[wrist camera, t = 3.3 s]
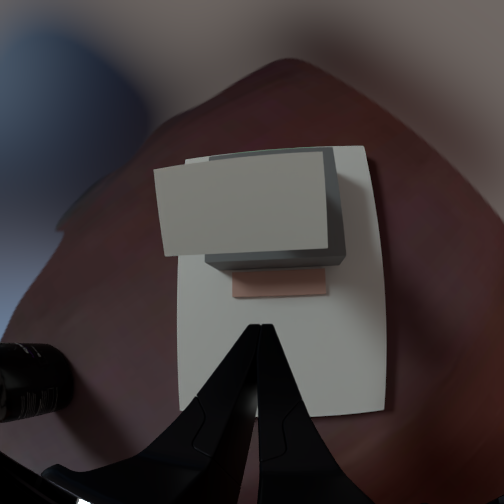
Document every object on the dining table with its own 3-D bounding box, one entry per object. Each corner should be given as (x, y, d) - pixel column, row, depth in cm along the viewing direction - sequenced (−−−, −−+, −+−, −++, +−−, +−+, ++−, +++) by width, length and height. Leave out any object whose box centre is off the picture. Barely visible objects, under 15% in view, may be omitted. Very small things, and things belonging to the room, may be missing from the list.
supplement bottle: (58, 332, 22) (-46, 325, 10) (85, 399, 20) (-20, 423, 9) (27, 356, 22) (-62, 354, 11) (50, 415, 20) (-39, 433, 9)
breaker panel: (379, 405, 17) (397, 424, 13) (186, 406, 19) (161, 422, 15) (361, 154, 21) (370, 122, 17) (190, 166, 23) (170, 139, 19)
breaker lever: (307, 203, 16) (327, 248, 7) (237, 208, 17) (164, 256, 7) (304, 165, 16) (322, 151, 6) (234, 170, 16) (153, 169, 7)
